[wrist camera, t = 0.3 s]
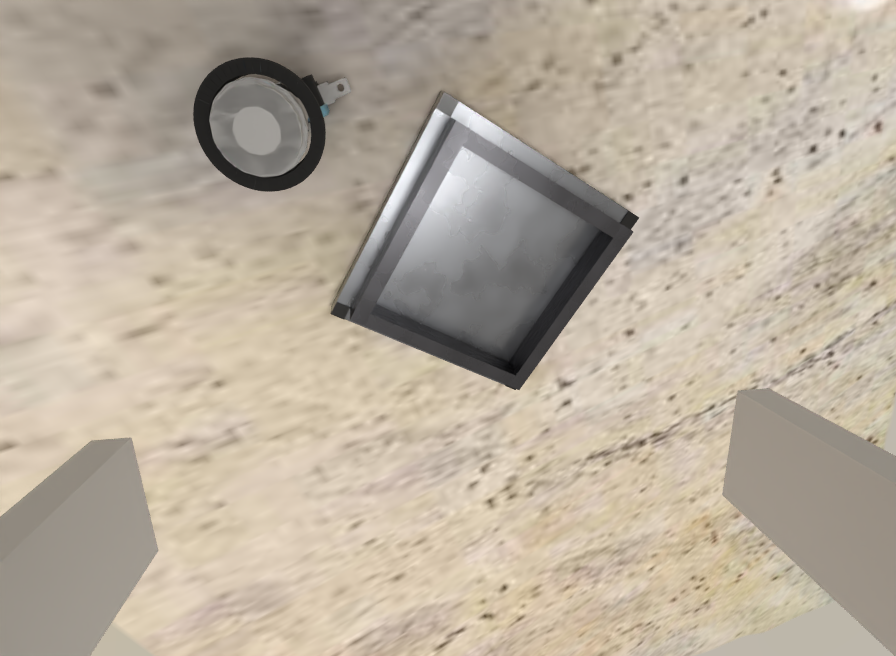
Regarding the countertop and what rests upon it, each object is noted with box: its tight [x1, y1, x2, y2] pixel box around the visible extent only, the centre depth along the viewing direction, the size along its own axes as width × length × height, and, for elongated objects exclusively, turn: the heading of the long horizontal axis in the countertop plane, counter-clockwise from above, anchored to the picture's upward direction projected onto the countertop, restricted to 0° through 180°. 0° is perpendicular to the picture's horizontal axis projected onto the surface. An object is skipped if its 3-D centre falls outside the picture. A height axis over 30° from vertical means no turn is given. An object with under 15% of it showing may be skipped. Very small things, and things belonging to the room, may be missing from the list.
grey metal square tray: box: [331, 91, 639, 390], centre depth 34 cm, size 16×16×3 cm
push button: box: [193, 58, 351, 192], centre depth 24 cm, size 7×5×10 cm
